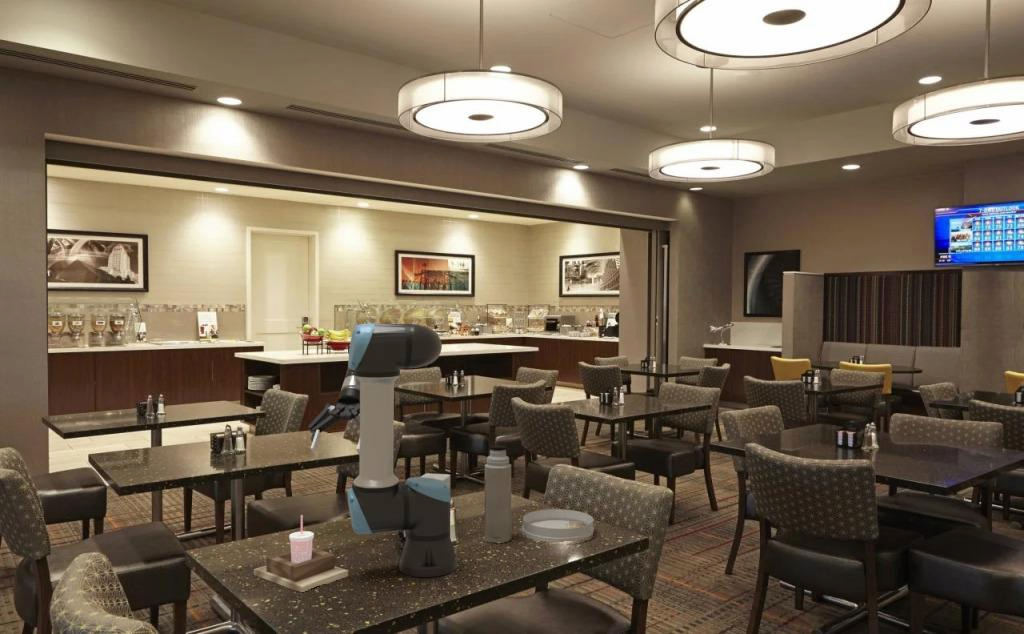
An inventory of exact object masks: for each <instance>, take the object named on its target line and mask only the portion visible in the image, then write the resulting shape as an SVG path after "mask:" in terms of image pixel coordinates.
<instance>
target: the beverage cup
mask: <svg viewBox="0 0 1024 634" xmlns="http://www.w3.org/2000/svg"><path fill="white" fill-rule="evenodd" d="M303 518H304V515H303V514H301V515H300V531H295V532H292V533H290V534H289V535H288V538H289V541H290V550H291V561H292V562H294V563H297V564H298V563H301V562H304V561H307V560H310V559H311V556H312V548H313V539H314V537H315V533H314V532H313V531H310V530H309V531H307V530H303V528H304V526H303V525H304V522H303Z"/></svg>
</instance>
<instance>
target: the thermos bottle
mask: <svg viewBox="0 0 1024 634" xmlns="http://www.w3.org/2000/svg"><path fill="white" fill-rule="evenodd" d="M489 449H490V450H489V455H488V456H487V457H486V464H484V541H485V540H486V541H488V542H505V541H508V540H510V539H511V540H512V464H510V457H509V456H508V455H507V446H506V445H502V444H500V445H498V444H497V445H490V447H489ZM486 541H485V542H486ZM488 542H487V543H488Z"/></svg>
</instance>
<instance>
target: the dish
mask: <svg viewBox="0 0 1024 634" xmlns="http://www.w3.org/2000/svg"><path fill="white" fill-rule="evenodd" d="M569 521H575V522H580V523H584V524H586V526H582V527H578V528H569V527H571V526H569ZM565 524H566V525H565ZM567 524H568V525H567ZM567 526H568V527H567ZM566 528H567V529H566ZM521 529H522V530H521V533H522V532H523V534H524V535H526V536H527V537H529V538H531V539H535V540H539V541H546V542H564V541H575V540H579V539H584V538H586V537H589V536H591V535H592V534H593V532H594V533H595V527H594V518H593V516H592V515H590V514H589V513H586V512H582V511H577V510H574V509H572V510H571V509H560V508H552V509H551V508H550V509H539V510H535V511H530V512H528V513H526V514H525V515H523V517H522V526H521ZM523 534H522V535H523Z"/></svg>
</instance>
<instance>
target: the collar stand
mask: <svg viewBox="0 0 1024 634" xmlns="http://www.w3.org/2000/svg"><path fill="white" fill-rule="evenodd" d="M335 560H336V554H334V553H330V552H328V551H323V550H321V549H318V548H314V547H312V556H311V559H310V560H307V561H304V562H301V563H298V564H297V563H294V562H292V561H291V549H290V550H287V551H284V552H282V553H281V552H280V553H277V554H275V555H270V556H267V557H266V564H265V565H263V566H260V567H257V568H254V569H253V575H254V576H255V577H259V578H260V579H263V580H266V581H269V582H272V583H274V584H277V585H278V586H279V585H280V586H282V587H285V588H288V589H290V590H293V591H296V592H298V591H299V592H298V593H301V592H304V593H306V592H305V591H307V590H308V589H311V588H314V587H316V586H319V585H322V584H326V585H328V584H331V583H333V582H336V580H337V581H339V580H341V579H344V578H348V577H349V570H348V569H344V568H342V567H338V566H336V561H335ZM307 592H308V591H307Z"/></svg>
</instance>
